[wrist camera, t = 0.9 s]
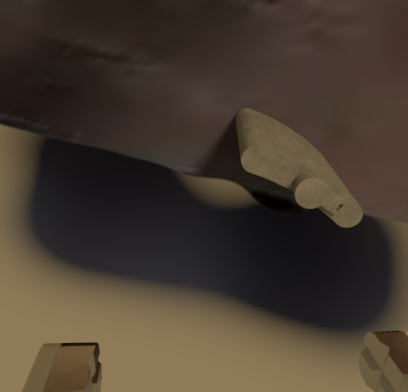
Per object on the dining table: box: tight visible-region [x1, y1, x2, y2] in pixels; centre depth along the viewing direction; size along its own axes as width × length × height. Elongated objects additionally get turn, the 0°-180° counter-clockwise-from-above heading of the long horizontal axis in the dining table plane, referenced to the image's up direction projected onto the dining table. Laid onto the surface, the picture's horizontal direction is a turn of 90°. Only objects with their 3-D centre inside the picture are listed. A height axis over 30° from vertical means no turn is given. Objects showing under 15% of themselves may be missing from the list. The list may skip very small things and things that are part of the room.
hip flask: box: [235, 108, 363, 228], centre depth 46 cm, size 16×4×20 cm, turn 59°
